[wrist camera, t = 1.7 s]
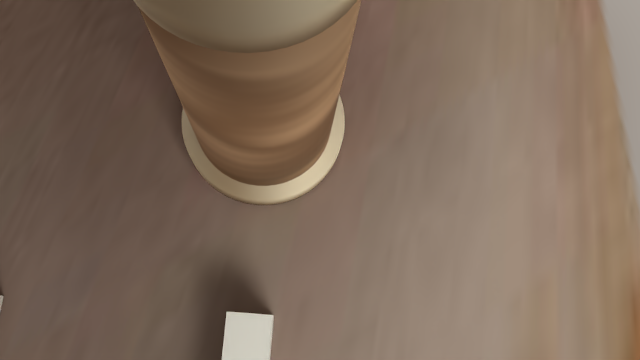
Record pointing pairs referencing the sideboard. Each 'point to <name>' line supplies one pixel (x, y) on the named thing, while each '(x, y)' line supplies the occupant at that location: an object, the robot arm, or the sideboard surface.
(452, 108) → the sideboard surface
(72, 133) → the sideboard surface
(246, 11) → the bobbin
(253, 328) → the white u-shaped piece
